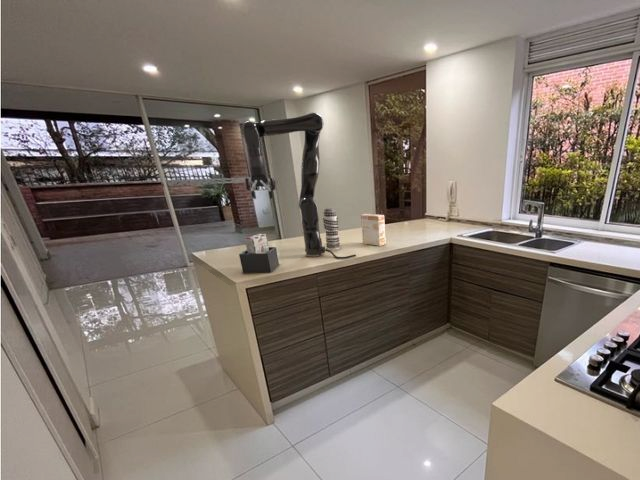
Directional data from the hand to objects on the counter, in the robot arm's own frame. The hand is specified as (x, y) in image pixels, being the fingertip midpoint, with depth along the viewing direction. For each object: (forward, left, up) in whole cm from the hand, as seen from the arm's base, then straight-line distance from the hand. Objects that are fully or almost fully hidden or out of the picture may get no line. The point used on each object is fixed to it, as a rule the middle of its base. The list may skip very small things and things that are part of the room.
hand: (263, 198), depth 182 cm
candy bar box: (0, +21, -32) cm, 39 cm away
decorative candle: (-31, -23, -33) cm, 51 cm away
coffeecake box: (-57, -34, -33) cm, 74 cm away
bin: (0, +21, -33) cm, 39 cm away
